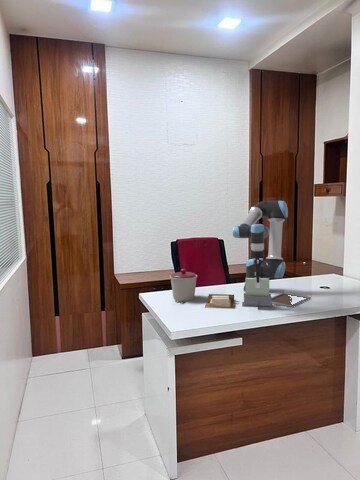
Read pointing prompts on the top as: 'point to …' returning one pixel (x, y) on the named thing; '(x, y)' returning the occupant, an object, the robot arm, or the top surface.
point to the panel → (253, 291)
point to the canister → (183, 285)
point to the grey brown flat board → (286, 299)
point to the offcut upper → (220, 299)
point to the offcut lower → (220, 304)
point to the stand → (258, 302)
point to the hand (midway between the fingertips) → (257, 285)
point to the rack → (231, 297)
